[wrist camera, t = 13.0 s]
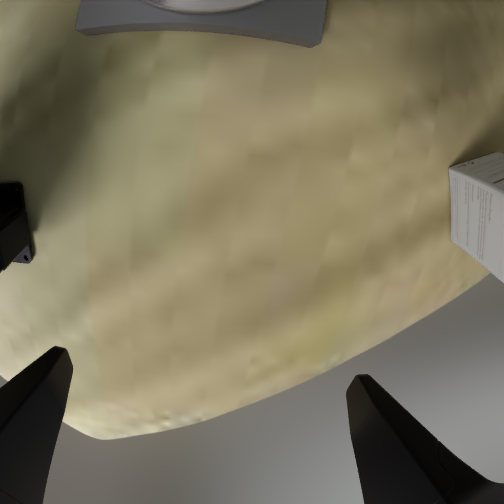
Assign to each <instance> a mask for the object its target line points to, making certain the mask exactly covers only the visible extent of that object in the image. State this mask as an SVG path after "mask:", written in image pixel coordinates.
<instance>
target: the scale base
mask: <svg viewBox="0 0 504 504" xmlns="http://www.w3.org/2000/svg"><path fill="white" fill-rule="evenodd" d="M326 3H327V0H270V1H267V2H265V3H263V4H261V5H258V6H255V7H253V8H250V9H246V10H242V11H238V12H233V13H227V14H220V15H186V14H179V13H173V12H168V11H165V10H162V9H158V8H156V7H153V6H151V5H149V4H147V3H145V2H143V1H141V0H81V3H80V7H79V12H78V16H77V21H76V26H75V30H76V31H78V32H80V33H83V34H85V35H95V34H104V33H115V32H129V31H158V30H169V31H199V32H213V33H224V34H234V35H242V36H250V37H256V38H263V39H269V40H275V41H280V42H285V43H290V44H295V45H300V46H304V47H308V48H311V47H313V46H315V45H318V44H320V43H321V40H322V33H323V26H324V18H325V11H326Z"/></svg>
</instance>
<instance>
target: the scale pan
mask: <svg viewBox="0 0 504 504" xmlns="http://www.w3.org/2000/svg"><path fill="white" fill-rule="evenodd" d="M141 1H143V2H145V3H147V4H149V5H151V6H153V7H156V8H158V9H162V10H165V11H168V12H173V13H179V14H186V15H220V14H227V13H233V12H238V11H242V10H246V9H250V8H253V7H255V6H258V5H261V4H263V3H265V2H267V1H270V0H141Z"/></svg>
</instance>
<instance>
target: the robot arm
mask: <svg viewBox="0 0 504 504" xmlns="http://www.w3.org/2000/svg"><path fill="white" fill-rule="evenodd" d="M16 187H17V189H18V191H17V190H16ZM26 255H27V256H28V258H27V256H26ZM32 260H33V253H32V248H31V240H30V235H29V229H28V222H27V215H26V211H25V203H24V194H23V186H22V184H21V183H20V182H18V181H12V182H0V273H1V271H2V270H5V269H6V268H7V267H8V266H9V265H10V264H11V263H12V262H17V263H27V264H28V263H30V262H31V261H32ZM72 374H73V365H72V362H71V359H70V356H69V353H68V351H67V349H66V348H63V347H59V346H54V347H52V348H51V349H50V350H48V351H47V352H46V353H44V354H43V355H42V356H40V357H39V358H38V359H37V360H35V361H34V362H33V363H31V364H30V365H29V366H27V367H26V368H25V369H24V370H22V371H21V372H20V373H19V374H17V375H16V376H15V377H13V378H12V379H11V380H10V381H8V382H7V383H6V384H5V385H4V386H2V387H1V388H0V504H43V498H44V492H45V488H46V483H47V478H48V474H49V469H50V464H51V461H52V456H53V452H54V449H55V444H56V441H57V437H58V433H59V430H60V427H61V423H62V420H63V416H64V413H65V408H66V403H67V398H68V393H69V388H70V383H71V379H72ZM346 399H347V407H348V417H349V426H350V434H351V440H352V444H353V449H354V454H355V458H356V463H357V467H358V473H359V478H360V483H361V488H362V493H363V498H364V504H504V483H496V482H493V481H490V480H488V479H486V478H485V477H483V476H482V475H481V474H479V473H478V472H476V471H475V470H474V469H472V468H471V467H470V466H468V465H467V464H466V463H464V462H463V461H462V460H461V459H459V458H458V457H457V456H455V455H454V454H453V453H452V452H451V451H450V450H449V449H447V448H446V447H445V446H444V445H443V444H442V443H441V442H440V441H438V440H437V438H435V437H434V436H433V435H432V434H431V433H430V432H429V431H428V430H427V429H426V428H425V427H424V426H423V425H422V424H421V423H420V422H418V421H417V420H416V419H415V418H414V417H413V416H412V415H411V414H410V413H409V412H408V411H407V410H406V409H404V408H403V407H402V406H401V405H400V404H399V403H398V402H397V401H396V400H395V399H394V398H393V397H392V396H391V395H390V394H389V393H388V392H387V391H385V389H384V388H382V387H381V386H380V385H379V384H378V383H377V382H376V381H375V380H374V379H373V378H372V377H371V376H370V375H368V374H359V375H356V376H355V377H354V379H353V381H352V382H351V384H350V386H349V387H348V389H347V392H346Z"/></svg>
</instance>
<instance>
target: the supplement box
mask: <svg viewBox="0 0 504 504" xmlns="http://www.w3.org/2000/svg"><path fill="white" fill-rule="evenodd" d="M449 179H450V199H451V241H453V242H454V243H455V244H457V245H458V246H459V247H461V248H462V249H463V250H464V251H466V252H467V253H468V254H469V255H471V256H472V257H473V258H474V259H476V260H477V261H478V262H479V263H481V264H482V265H483V266H484V267H485V268H487V269H488V270H489V271H490V272H491V273H493V274H494V275H495V276H496V277H497V278H498V279H500V280H501V281H502V282H503V283H504V154H502V153H499V152H496V153H492V154H489V155H486V156H482V157H479V158H476V159H473V160H470V161H467V162H463V163H460V164H458V165H454V166H452V167H449Z"/></svg>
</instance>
